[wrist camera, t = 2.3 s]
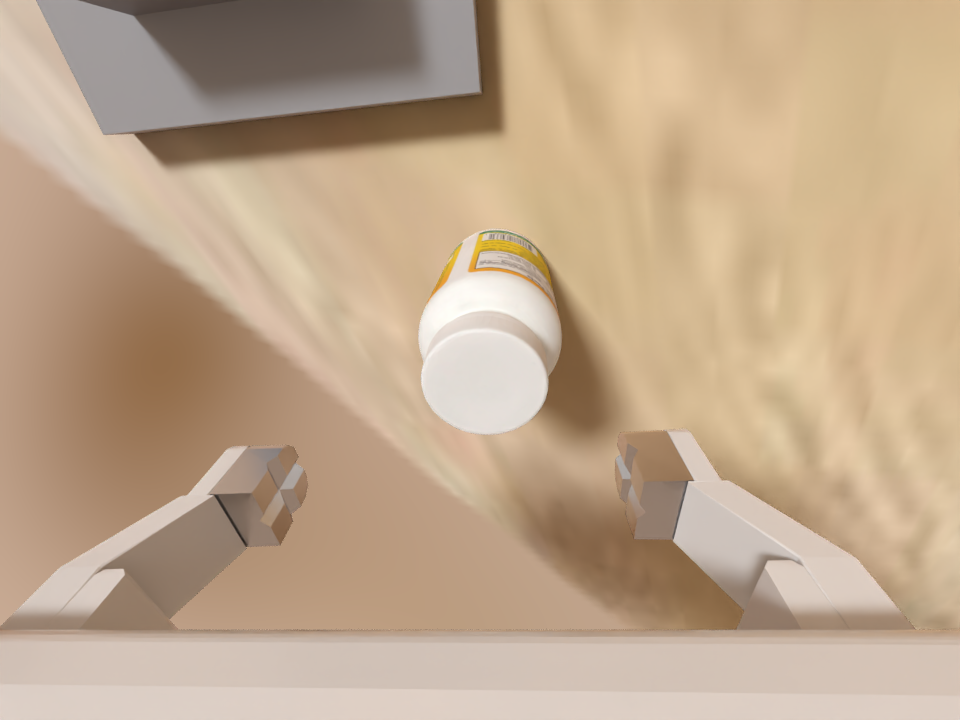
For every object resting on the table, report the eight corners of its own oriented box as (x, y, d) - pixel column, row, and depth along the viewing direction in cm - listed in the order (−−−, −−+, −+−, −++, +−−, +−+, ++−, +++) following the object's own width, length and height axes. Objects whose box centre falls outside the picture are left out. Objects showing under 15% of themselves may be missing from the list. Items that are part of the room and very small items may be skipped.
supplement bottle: (524, 207, 18) (535, 275, 10) (563, 304, 21) (597, 422, 13) (425, 255, 20) (365, 348, 12) (472, 340, 22) (450, 467, 14)
